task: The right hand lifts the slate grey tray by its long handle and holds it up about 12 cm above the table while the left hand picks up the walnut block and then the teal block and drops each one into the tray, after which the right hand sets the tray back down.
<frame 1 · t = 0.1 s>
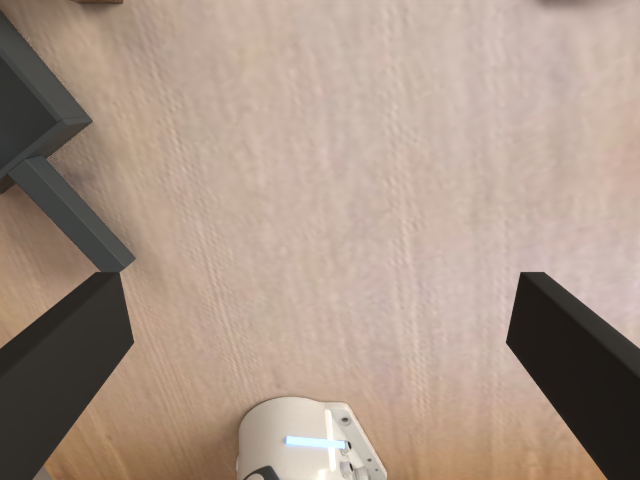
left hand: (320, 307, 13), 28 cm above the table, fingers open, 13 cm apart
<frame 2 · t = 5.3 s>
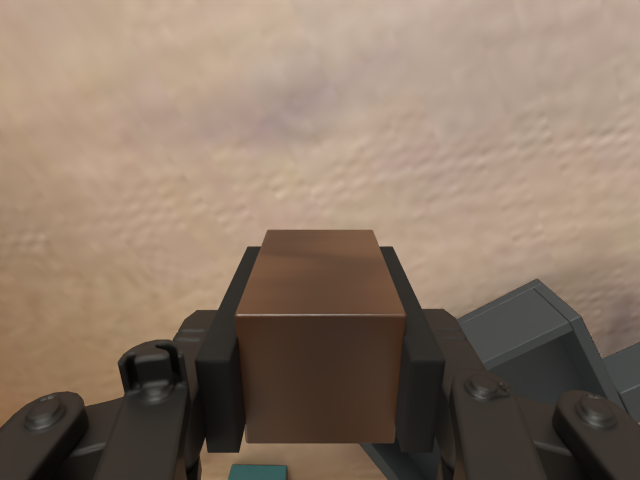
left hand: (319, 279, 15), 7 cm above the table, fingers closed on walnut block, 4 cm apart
walnut block: (320, 276, 15), point 7 cm above the table, touching left hand
tray: (480, 402, 25), on the table
when the left hand's fingers open (17 cm above the table, at t = 10.6 s): walnut block drops 5 cm, resting on tray.
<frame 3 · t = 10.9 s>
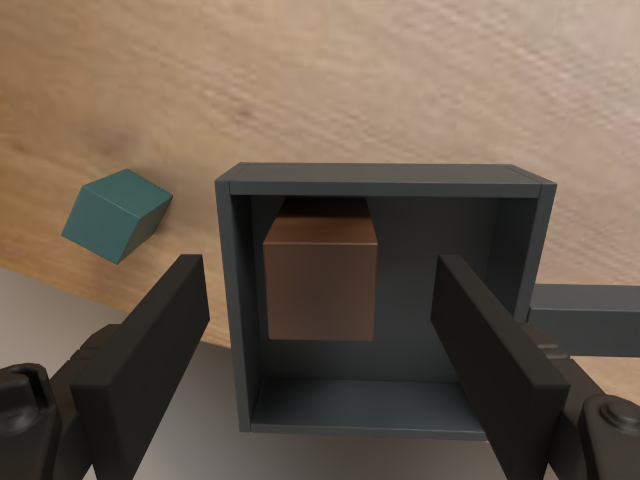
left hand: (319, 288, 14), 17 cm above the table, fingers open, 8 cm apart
walnut block: (325, 236, 19), point 12 cm above the table, touching tray
teal block: (140, 202, 31), on the table
tray: (367, 284, 21), point 11 cm above the table, touching right hand, walnut block
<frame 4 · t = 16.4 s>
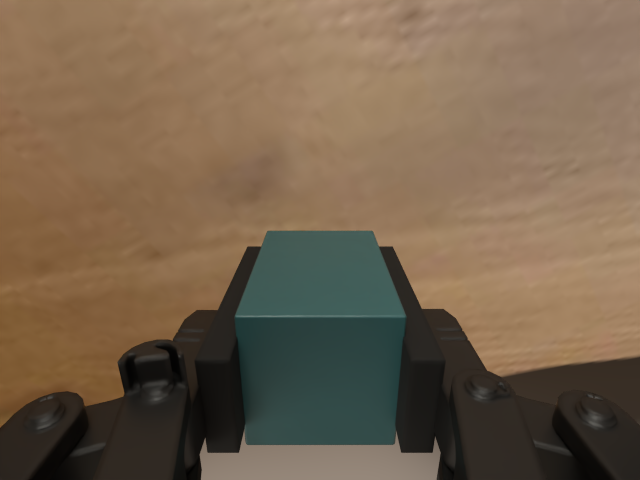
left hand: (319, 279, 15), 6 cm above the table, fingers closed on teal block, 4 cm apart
teal block: (320, 278, 15), point 6 cm above the table, touching left hand
when the left hand's fingers open (17 cm above the table, at t = 19.1 s): teal block drops 8 cm, resting on tray.
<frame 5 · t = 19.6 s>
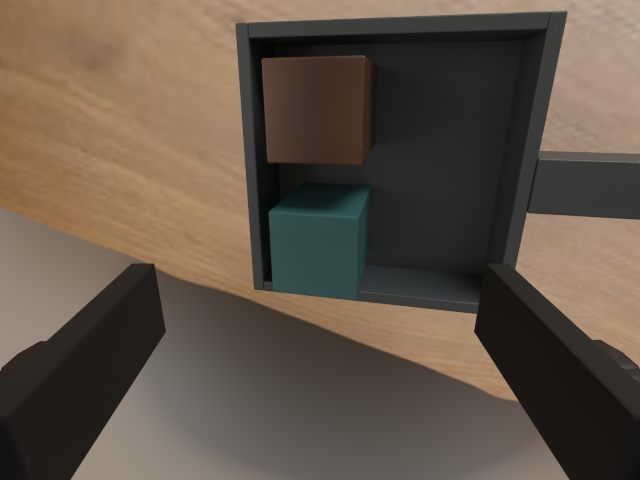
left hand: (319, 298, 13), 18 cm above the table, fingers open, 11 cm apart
walnut block: (338, 107, 20), point 8 cm above the table, tilted 12°, touching tray
teal block: (336, 217, 23), point 8 cm above the table, tilted 12°, touching tray
tray: (383, 163, 22), point 8 cm above the table, tilted 12°, touching right hand, teal block, walnut block
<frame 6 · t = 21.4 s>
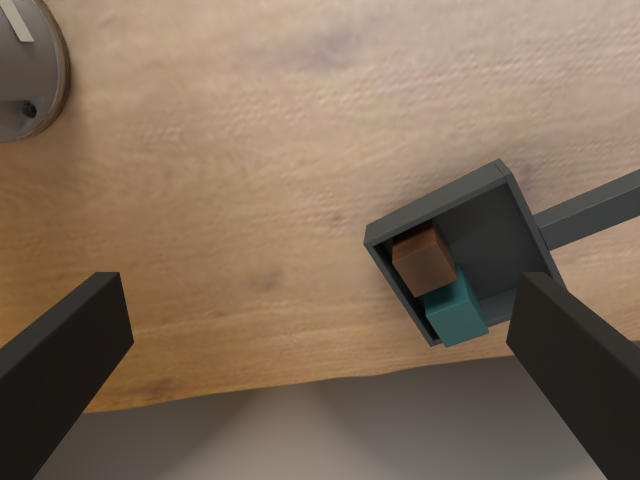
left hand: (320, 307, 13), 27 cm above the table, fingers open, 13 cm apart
walnut block: (421, 238, 37), point 3 cm above the table, tilted 12°, touching tray
teal block: (449, 286, 39), point 3 cm above the table, tilted 12°, touching tray
tray: (459, 249, 37), point 3 cm above the table, tilted 12°, touching right hand, teal block, walnut block
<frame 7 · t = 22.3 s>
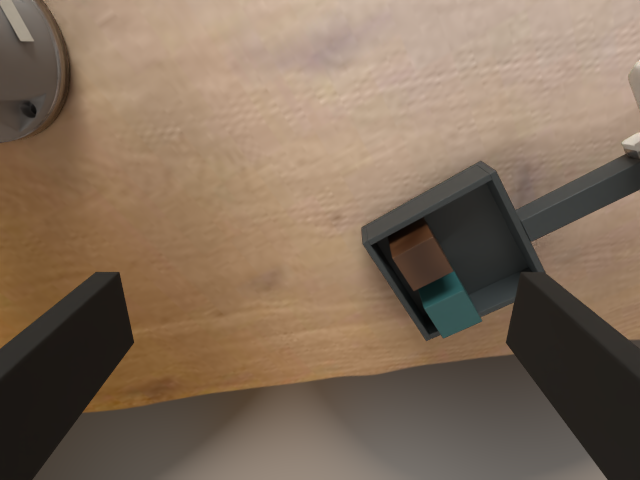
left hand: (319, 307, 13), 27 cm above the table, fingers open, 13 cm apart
walnut block: (413, 238, 39), point 1 cm above the table, touching tray
teal block: (439, 282, 41), point 1 cm above the table, touching tray
tray: (447, 246, 40), point 1 cm above the table, touching right hand, teal block, walnut block
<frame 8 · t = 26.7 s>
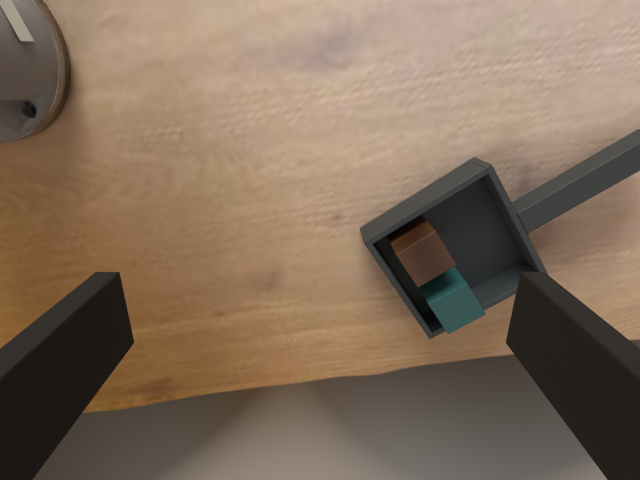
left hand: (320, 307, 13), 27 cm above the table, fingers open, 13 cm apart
walnut block: (411, 236, 40), point 1 cm above the table, touching tray
teal block: (438, 280, 42), point 1 cm above the table, touching tray
tray: (445, 243, 41), on the table, touching teal block, walnut block
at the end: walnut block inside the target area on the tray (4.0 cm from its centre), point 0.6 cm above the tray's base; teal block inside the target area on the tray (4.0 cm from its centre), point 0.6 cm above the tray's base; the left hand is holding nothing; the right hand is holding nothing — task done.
